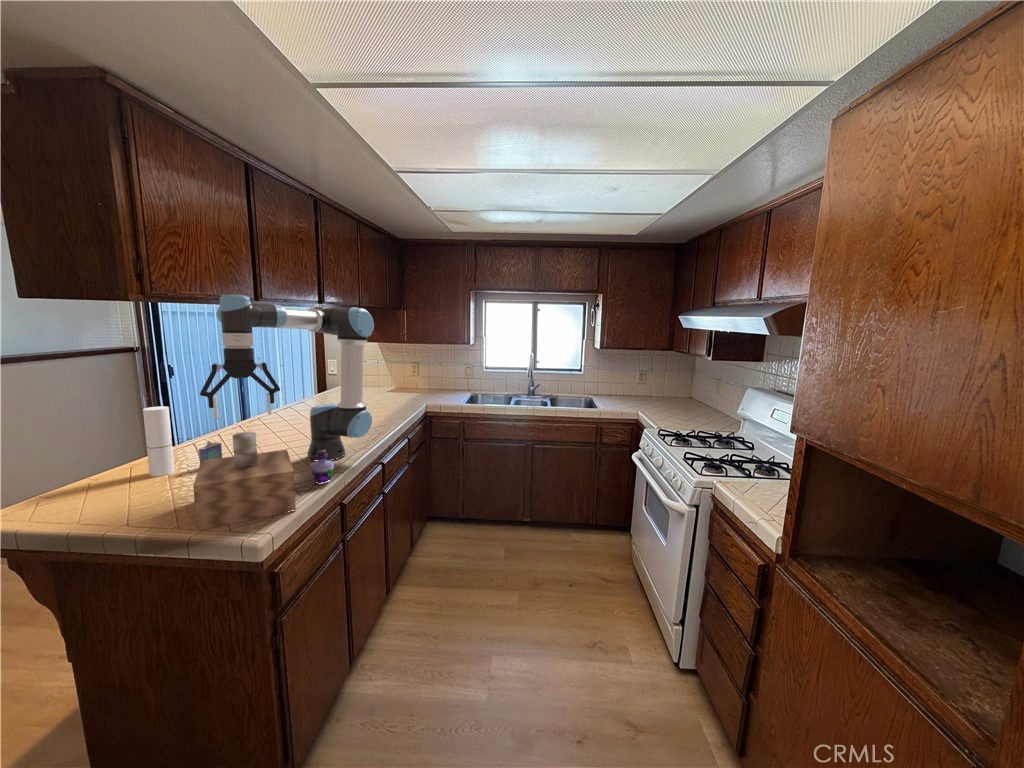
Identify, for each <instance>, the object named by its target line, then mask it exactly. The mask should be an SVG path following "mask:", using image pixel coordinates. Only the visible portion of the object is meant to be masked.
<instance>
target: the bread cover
mask: <svg viewBox="0 0 1024 768" xmlns="http://www.w3.org/2000/svg"><path fill="white" fill-rule="evenodd" d="M232 447H233V448H232V449H233V456H227V457H222V458H217V459H209V460H201V463H200V462H199V467H198V470H197V473H196V476H195V480H194V483H193V499H194V512H195V513H194V514H195V523H196V531H197V532H198V531H204V530H208V529H213V528H218V527H219V528H220V527H223V526H228V525H229V526H230V525H233V524H237V523H243V522H247V521H248V520H249V521H253V519H254V520H257V519H258V518H259V519H264V518H269V517H273V516H272V515H274V516H277V515H276V514H279V515H282V514H281V513H284V514H286V513H285V512H288V511H291V510H297V509H296V491H295V490H296V488H295V471H294V467H293V465H292V461H291V458H290V455H289V452H288V450H287V449H282V450H274V451H266V452H258V450H257V449H258V448H257V433H256V432H253V431H252V432H251V431H247V432H237V433H236V434H232ZM268 516H269V517H268ZM259 519H258V520H259ZM203 529H204V530H203Z"/></svg>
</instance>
